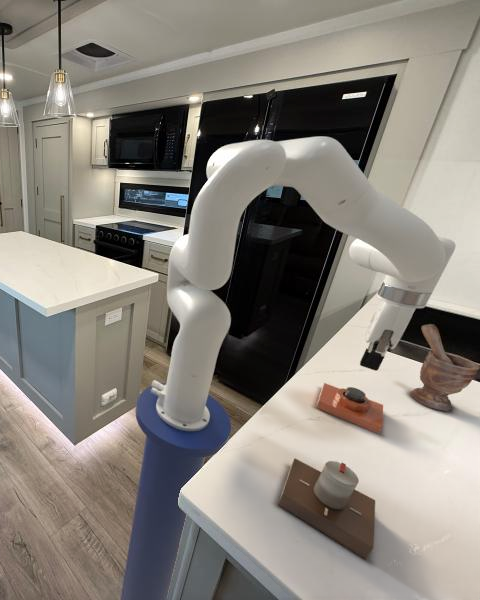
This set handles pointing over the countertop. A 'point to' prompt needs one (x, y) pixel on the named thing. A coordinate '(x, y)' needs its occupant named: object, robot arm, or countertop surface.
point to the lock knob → (335, 484)
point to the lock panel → (330, 510)
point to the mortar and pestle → (442, 373)
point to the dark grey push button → (354, 394)
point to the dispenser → (351, 408)
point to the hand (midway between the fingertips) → (368, 366)
